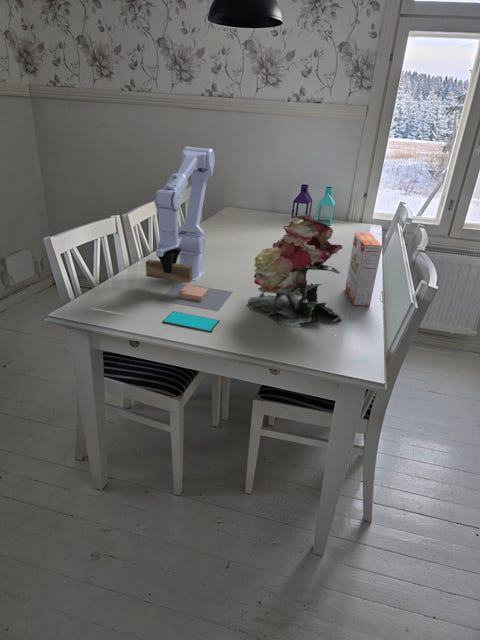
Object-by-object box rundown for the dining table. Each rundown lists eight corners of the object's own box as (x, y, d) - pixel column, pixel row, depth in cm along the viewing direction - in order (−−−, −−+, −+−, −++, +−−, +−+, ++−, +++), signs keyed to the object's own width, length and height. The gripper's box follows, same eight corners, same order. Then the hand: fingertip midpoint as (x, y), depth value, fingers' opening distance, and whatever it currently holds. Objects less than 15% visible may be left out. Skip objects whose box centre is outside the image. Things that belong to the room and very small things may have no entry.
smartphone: (211, 331, 117) (162, 321, 121) (211, 334, 118) (162, 323, 121) (220, 320, 124) (173, 310, 127) (220, 322, 124) (173, 313, 127)
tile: (186, 284, 141) (209, 288, 140) (186, 289, 142) (208, 293, 140) (178, 292, 135) (201, 296, 133) (178, 297, 136) (201, 301, 134)
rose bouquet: (290, 286, 151) (301, 201, 138) (350, 319, 130) (369, 222, 116) (229, 299, 138) (234, 206, 125) (284, 338, 117) (297, 232, 103)
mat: (178, 283, 147) (178, 282, 147) (233, 292, 143) (233, 291, 143) (157, 301, 133) (157, 300, 133) (217, 312, 129) (218, 311, 129)
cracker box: (343, 289, 152) (354, 231, 142) (360, 290, 152) (372, 232, 142) (351, 305, 139) (363, 243, 130) (370, 306, 139) (383, 245, 130)
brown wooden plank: (149, 273, 141) (149, 259, 138) (192, 280, 137) (192, 265, 135) (146, 276, 139) (145, 261, 136) (189, 282, 135) (189, 268, 133)
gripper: (166, 222, 138) (167, 262, 144) (145, 234, 125) (147, 276, 131) (186, 225, 136) (186, 265, 142) (167, 237, 124) (168, 280, 130)
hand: (169, 271), depth 137 cm, fingers closed on brown wooden plank, 2 cm apart
